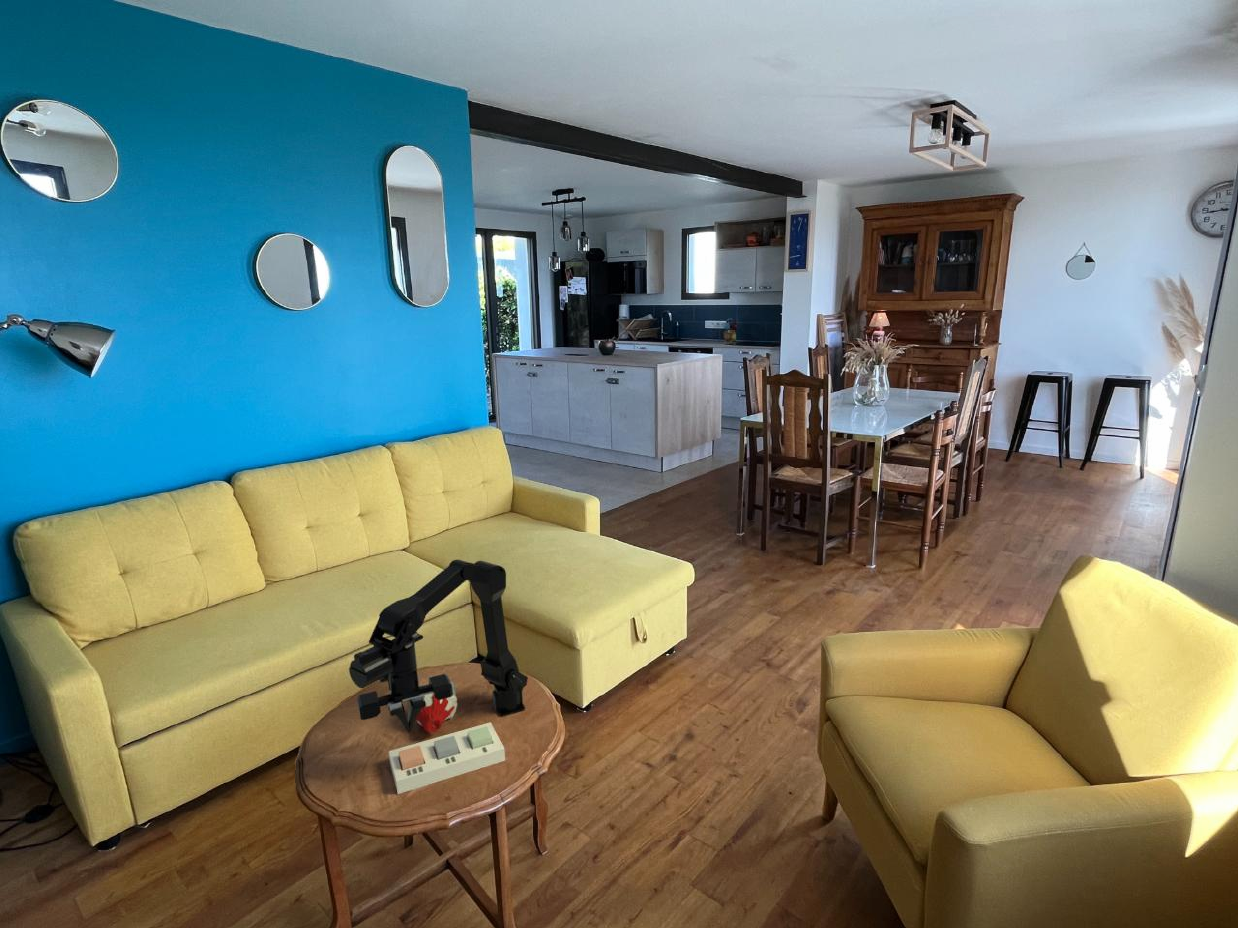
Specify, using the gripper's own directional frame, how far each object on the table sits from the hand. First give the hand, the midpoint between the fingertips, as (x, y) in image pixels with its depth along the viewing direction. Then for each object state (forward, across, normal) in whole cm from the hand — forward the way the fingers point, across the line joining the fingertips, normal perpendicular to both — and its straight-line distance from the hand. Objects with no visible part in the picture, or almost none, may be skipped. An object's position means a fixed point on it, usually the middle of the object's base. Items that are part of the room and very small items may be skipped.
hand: (409, 731), depth 146 cm
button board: (+10, -7, 0) cm, 12 cm away
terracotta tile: (+8, 0, 0) cm, 8 cm away
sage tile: (+8, -15, 0) cm, 17 cm away
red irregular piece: (+10, -8, -16) cm, 20 cm away
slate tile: (+8, -7, 0) cm, 11 cm away
